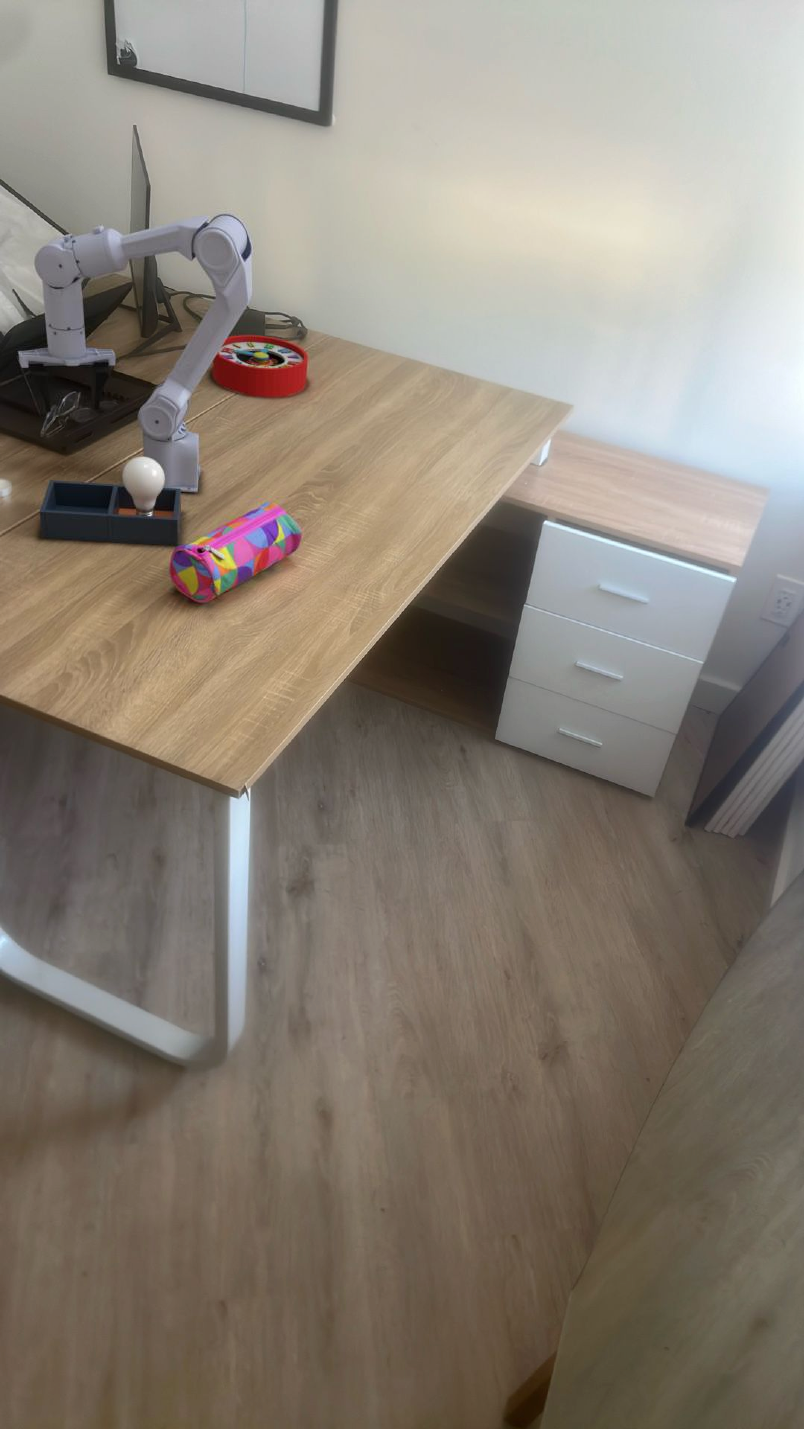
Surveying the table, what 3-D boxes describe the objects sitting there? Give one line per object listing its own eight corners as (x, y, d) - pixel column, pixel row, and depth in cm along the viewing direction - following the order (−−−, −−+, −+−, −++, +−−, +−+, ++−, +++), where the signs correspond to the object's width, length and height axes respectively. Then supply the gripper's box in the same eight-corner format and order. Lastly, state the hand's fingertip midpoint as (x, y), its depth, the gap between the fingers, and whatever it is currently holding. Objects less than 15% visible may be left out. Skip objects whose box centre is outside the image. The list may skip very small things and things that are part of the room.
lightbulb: (173, 520, 152) (172, 456, 145) (153, 537, 147) (151, 471, 140) (137, 509, 153) (135, 445, 146) (116, 526, 148) (113, 460, 141)
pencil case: (212, 618, 134) (213, 563, 128) (162, 593, 137) (161, 538, 131) (303, 562, 149) (308, 510, 144) (256, 540, 152) (259, 489, 147)
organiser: (180, 513, 156) (180, 488, 153) (177, 545, 148) (177, 520, 145) (52, 505, 152) (49, 479, 149) (42, 538, 144) (39, 511, 141)
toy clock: (296, 376, 194) (200, 358, 194) (294, 404, 197) (200, 386, 198) (316, 346, 209) (228, 329, 209) (314, 372, 213) (227, 355, 213)
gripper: (20, 333, 142) (29, 420, 151) (118, 332, 148) (122, 416, 157) (12, 317, 147) (22, 402, 155) (107, 317, 153) (111, 399, 161)
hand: (71, 408), depth 156 cm, fingers open, 7 cm apart
